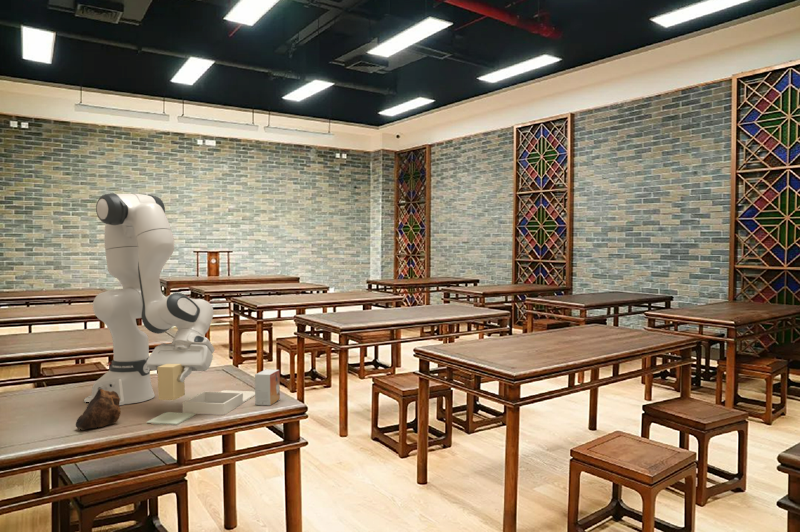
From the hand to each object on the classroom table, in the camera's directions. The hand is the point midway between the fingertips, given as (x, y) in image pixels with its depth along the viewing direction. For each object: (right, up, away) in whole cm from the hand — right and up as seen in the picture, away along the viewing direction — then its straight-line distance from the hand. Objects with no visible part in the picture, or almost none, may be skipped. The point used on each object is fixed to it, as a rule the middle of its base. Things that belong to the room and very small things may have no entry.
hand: (170, 381), depth 166 cm
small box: (+25, -12, +19) cm, 34 cm away
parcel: (0, -5, +1) cm, 5 cm away
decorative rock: (-19, -13, -5) cm, 23 cm away
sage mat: (0, -12, +1) cm, 12 cm away
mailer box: (+10, -11, +19) cm, 25 cm away
